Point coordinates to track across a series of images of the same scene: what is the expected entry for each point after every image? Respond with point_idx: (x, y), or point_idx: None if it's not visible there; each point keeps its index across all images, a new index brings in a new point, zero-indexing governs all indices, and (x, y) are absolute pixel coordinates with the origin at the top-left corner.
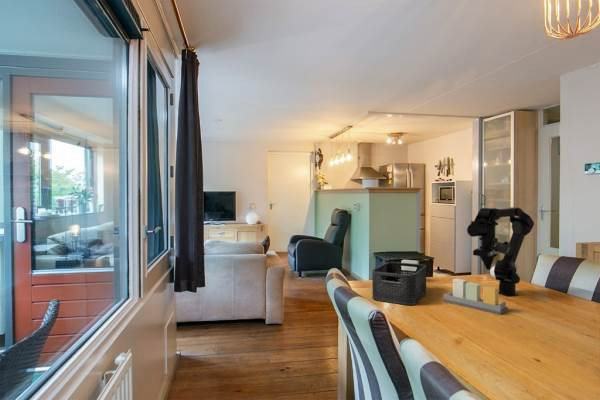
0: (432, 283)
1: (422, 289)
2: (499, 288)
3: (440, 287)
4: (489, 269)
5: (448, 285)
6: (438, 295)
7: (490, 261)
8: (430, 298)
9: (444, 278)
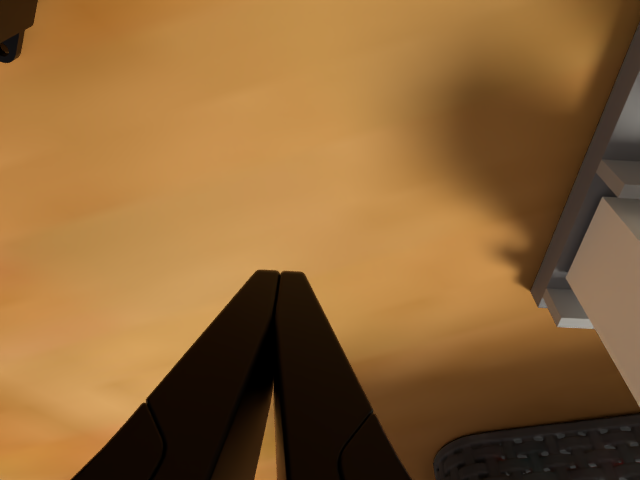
0: None
1: (610, 463)
2: (4, 33)
3: (271, 420)
4: (289, 272)
5: None
6: (509, 368)
7: (343, 464)
8: None
9: (4, 470)
